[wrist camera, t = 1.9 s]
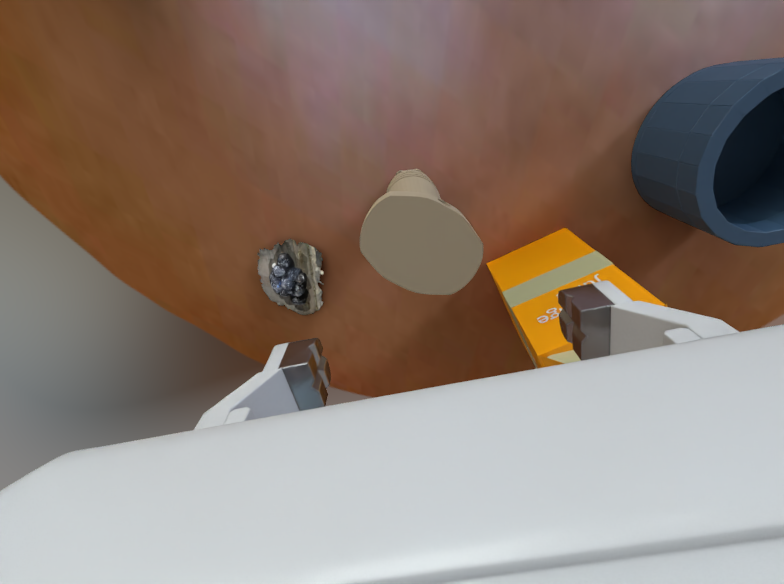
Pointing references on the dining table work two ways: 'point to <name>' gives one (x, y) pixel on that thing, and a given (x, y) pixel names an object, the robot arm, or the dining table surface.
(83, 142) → the dining table surface
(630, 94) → the dining table surface
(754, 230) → the jar
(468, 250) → the handle
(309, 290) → the mineral rock
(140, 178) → the dining table surface
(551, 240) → the orange juice
